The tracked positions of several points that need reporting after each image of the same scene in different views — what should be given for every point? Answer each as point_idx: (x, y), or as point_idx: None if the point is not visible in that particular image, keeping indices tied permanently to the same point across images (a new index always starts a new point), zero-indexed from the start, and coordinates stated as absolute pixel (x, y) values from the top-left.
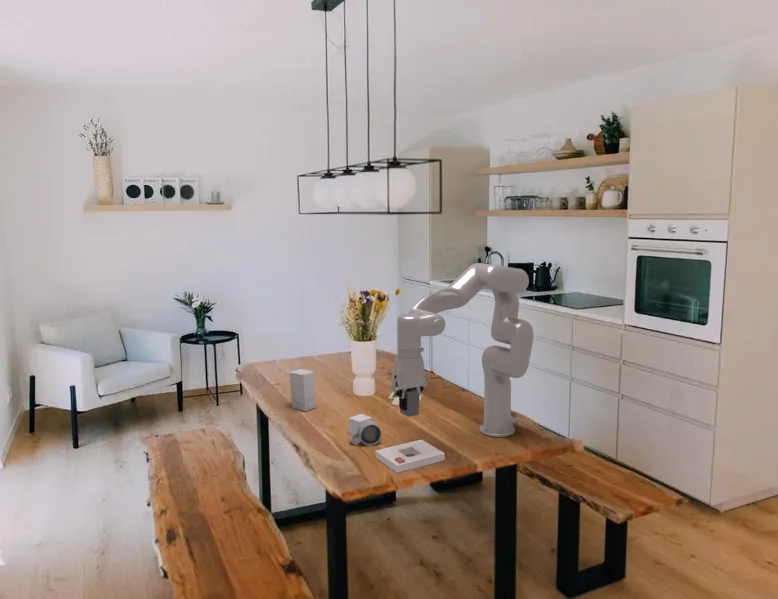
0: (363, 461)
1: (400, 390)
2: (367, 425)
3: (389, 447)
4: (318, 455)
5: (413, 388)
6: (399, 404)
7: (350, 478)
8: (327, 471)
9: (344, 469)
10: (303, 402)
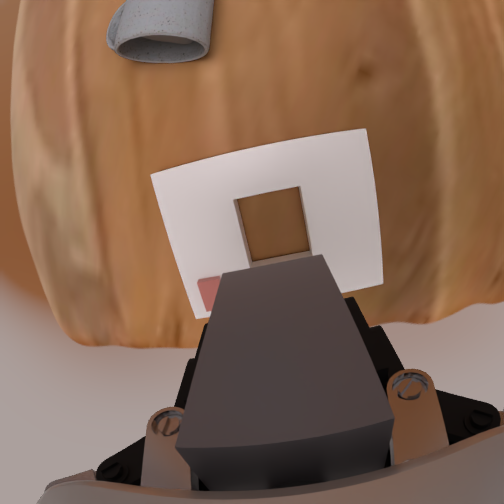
0: (117, 190)
1: (173, 481)
2: (129, 38)
3: (210, 160)
4: (22, 117)
5: (378, 469)
6: (188, 371)
7: (79, 287)
8: (33, 228)
9: (66, 230)
10: None
